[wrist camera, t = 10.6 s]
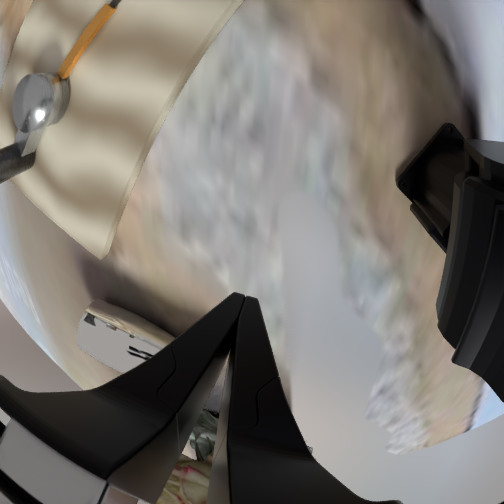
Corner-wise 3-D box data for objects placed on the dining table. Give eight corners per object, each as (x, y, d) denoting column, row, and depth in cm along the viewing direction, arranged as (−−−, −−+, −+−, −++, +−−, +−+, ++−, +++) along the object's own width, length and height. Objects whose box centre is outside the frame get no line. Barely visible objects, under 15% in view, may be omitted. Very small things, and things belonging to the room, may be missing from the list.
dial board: (70, -44, 9) (59, -47, 8) (249, -7, 12) (244, -15, 11) (-2, 155, 22) (-12, 160, 21) (108, 252, 26) (99, 261, 24)
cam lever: (99, -5, 11) (-14, -20, 2) (129, 21, 13) (1, 3, 3) (13, 150, 20) (-67, 191, 10) (33, 180, 21) (-49, 231, 12)
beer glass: (226, 336, 28) (101, 285, 28) (206, 395, 23) (69, 332, 23) (215, 363, 33) (108, 319, 33) (199, 412, 27) (83, 360, 27)
